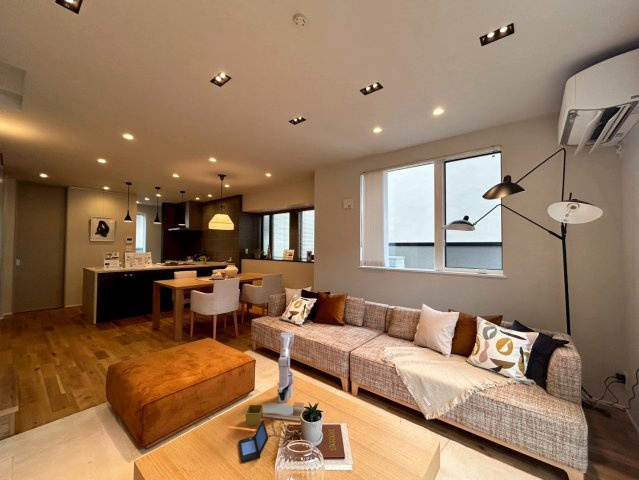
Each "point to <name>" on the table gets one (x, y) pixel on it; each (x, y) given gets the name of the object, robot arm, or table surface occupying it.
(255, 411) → the flower pot
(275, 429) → the table surface
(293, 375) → the robot arm
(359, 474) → the table surface
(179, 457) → the table surface
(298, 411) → the terracotta tin
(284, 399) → the sage tin
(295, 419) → the shelf
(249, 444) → the handheld game console
